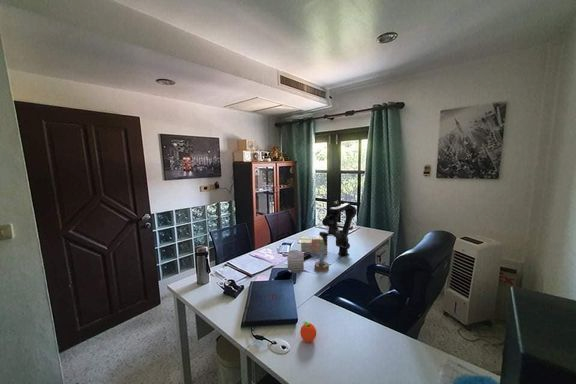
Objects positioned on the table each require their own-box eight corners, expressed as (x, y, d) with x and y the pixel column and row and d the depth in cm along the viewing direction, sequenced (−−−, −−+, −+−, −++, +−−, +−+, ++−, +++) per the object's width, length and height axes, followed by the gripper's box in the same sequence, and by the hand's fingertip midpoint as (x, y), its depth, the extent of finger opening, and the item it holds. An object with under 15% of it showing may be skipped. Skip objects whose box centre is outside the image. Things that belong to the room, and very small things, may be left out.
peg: (323, 267, 163) (322, 250, 161) (324, 268, 160) (324, 251, 158) (319, 267, 162) (318, 250, 161) (320, 269, 160) (320, 252, 158)
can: (300, 264, 168) (300, 249, 166) (306, 271, 157) (306, 255, 155) (285, 267, 164) (285, 251, 163) (290, 274, 154) (290, 257, 152)
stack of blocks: (301, 253, 187) (300, 239, 186) (301, 250, 194) (301, 236, 192) (327, 253, 186) (327, 239, 184) (326, 250, 192) (326, 236, 190)
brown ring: (322, 263, 168) (322, 259, 167) (331, 269, 160) (331, 264, 159) (312, 267, 163) (312, 263, 162) (320, 272, 155) (320, 268, 154)
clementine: (296, 335, 101) (295, 321, 100) (309, 329, 104) (308, 315, 103) (306, 348, 94) (305, 333, 93) (319, 341, 97) (319, 326, 96)
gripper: (327, 227, 157) (325, 249, 158) (350, 227, 164) (348, 248, 165) (319, 224, 168) (318, 245, 168) (341, 224, 174) (339, 244, 175)
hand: (331, 245), depth 169 cm, fingers open, 9 cm apart
